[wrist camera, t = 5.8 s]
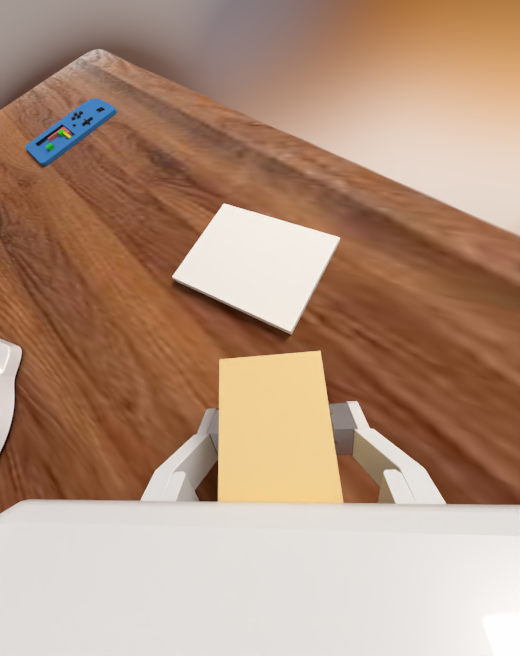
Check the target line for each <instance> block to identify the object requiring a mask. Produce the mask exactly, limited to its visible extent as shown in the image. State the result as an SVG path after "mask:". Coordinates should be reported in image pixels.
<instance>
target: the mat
mask: <svg viewBox="0 0 520 656" xmlns="http://www.w3.org/2000/svg"><path fill="white" fill-rule="evenodd" d="M339 241H340V237H337V236H333V235H330V234H326V233H323V232H320V231H316V230H313V229H309V228H306V227H303V226H299V225H296V224H293V223H289V222H286V221H282V220H279V219H276V218H272V217H269V216H265V215H262V214H259V213H255V212H252V211H248V210H245V209H242V208H238V207H235V206H231V205H228V204H225V203H224V204H223V205H222V207H221V208H220V209H219V211H218V212H217V214H216V215H215V217H214V218H213V219H212V221H211V222H210V224H209V225H208V226H207V228H206V229H205V231H204V232H203V234H202V235H201V236H200V238H199V239H198V241H197V242H196V244H195V245H194V246H193V248H192V249H191V251H190V252H189V253H188V255H187V256H186V258H185V259H184V261H183V262H182V263H181V265H180V266H179V268H178V269H177V270H176V272H175V273H174V275H173V276H172V278H173V279H174V280H175V281H177V282H179V283H181V284H183V285H185V286H187V287H190V288H192V289H194V290H196V291H198V292H200V293H202V294H205V295H207V296H209V297H211V298H213V299H215V300H217V301H220V302H222V303H224V304H226V305H228V306H230V307H232V308H235V309H237V310H239V311H241V312H243V313H245V314H247V315H250V316H252V317H254V318H256V319H258V320H260V321H262V322H265V323H267V324H269V325H271V326H273V327H275V328H277V329H280V330H282V331H284V332H286V333H288V334H290V335H292V333H293V331H294V329H295V327H296V325H297V323H298V321H299V319H300V317H301V315H302V313H303V311H304V309H305V308H306V306H307V304H308V302H309V300H310V298H311V296H312V294H313V292H314V290H315V288H316V286H317V284H318V283H319V281H320V279H321V277H322V275H323V273H324V271H325V269H326V267H327V265H328V263H329V261H330V259H331V257H332V256H333V254H334V252H335V250H336V248H337V246H338V244H339Z"/></svg>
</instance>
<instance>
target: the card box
mask: <svg viewBox="0 0 520 656" xmlns="http://www.w3.org/2000/svg"><path fill="white" fill-rule="evenodd" d="M218 502H303V503H343V497H342V490H341V483H340V477H339V470H338V464H337V457H336V450H335V444H334V437H333V431H332V424H331V417H330V411H329V404H328V398H327V391H326V384H325V378H324V371H323V364H322V358H321V351H312V352H300V353H288V354H277V355H265V356H253V357H241V358H230V359H220V364H219V445H218Z"/></svg>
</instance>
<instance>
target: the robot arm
mask: <svg viewBox="0 0 520 656" xmlns="http://www.w3.org/2000/svg"><path fill="white" fill-rule="evenodd" d="M21 356H22V350H21V348H20V347H19V346H17V345H15V344H13V343H10V342H8V341H5V340H3V339H0V452H1V449H2V447H3V445H4V443H5V440H6V438H7V435H8V432H9V429H10V425H11V421H12V417H13V411H14V401H15V393H14V382H15V376H16V373H17V370H18V367H19V364H20V360H21ZM328 404H329V411H330V417H331V424H332V431H333V437H334V444H335V450H336V455H353V457H354V458H355V459H356V460H357V462H358V463H359V464H360V465H361V466H362V467H363V468H364V469H365V471H366V472H367V473H368V474H369V475H370V476H371V477H372V478H373V480H374V481H375V482H376V483H377V484H378V485H379V486H380V494H379V499H378V503H303V502H211V501H199V499H198V497H197V495H196V493H195V490H196V488H197V487H198V486H199V484H200V483H201V481H202V480H203V479H204V477H205V476H206V475H207V473H208V472H209V471H210V469H211V468H212V467H213V465H214V464H215V463H216V461H217V460H218V445H219V408H213V409H207V410H206V412H205V414H204V417H203V419H202V422H201V425H200V427H199V430H198V432H197V435H193V436H192V437H191V438H190V439H189V440H188V441H187V442H186V443H185V444H184V445H182V446H181V447H180V448H179V449H178V450H177V451H176V452H175V453H174V454H173V455H172V456H171V457H169V458H168V459H167V460H166V461H165V462H164V463H163V464H162V465H161V466H160V467H159V468H158V469H157V470H155V472H154V474H153V476H152V478H151V480H150V482H149V484H148V486H147V488H146V490H145V492H144V494H143V496H142V498H141V500H140V501H125V500H46V499H29V500H24V501H21V502H19V503H17V504H15V505H14V506H12V507H10V508H9V509H7V510H5V511H4V512H2V513H1V514H0V656H520V505H479V504H446V503H445V501H444V499H443V498H442V496H441V494H440V493H439V491H438V490H437V488H436V486H435V485H434V483H433V481H432V480H431V478H430V476H429V475H428V473H427V471H426V470H425V468H423V467H422V466H421V465H420V464H418V463H417V462H416V461H414V460H413V459H412V458H411V457H409V456H408V455H407V454H405V453H404V452H403V451H402V450H400V449H399V448H398V447H396V446H395V445H394V444H393V443H391V442H390V441H389V440H387V439H386V438H385V437H383V436H382V435H381V434H380V433H378V432H377V431H376V430H374V429H370V427H369V425H368V423H367V421H366V419H365V417H364V414H363V412H362V410H361V408H360V406H359V403H358V402H357V401H348V402H331V403H328Z"/></svg>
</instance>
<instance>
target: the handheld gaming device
mask: <svg viewBox="0 0 520 656" xmlns="http://www.w3.org/2000/svg"><path fill="white" fill-rule="evenodd" d="M116 113H117V110H116V109H115V107H113V106H111V105H109V104H108V103H106V102H104V101H102V100H101V99H97V98H96V99H91V100H88V101H86V102H85V103H83V104H82V105H80V106H79V107H78V108H76V109H75V110H74V111H72V112H71V113H70V114H68V115H67V116H66V117H64V118H63V119H61V120H60V121H59V122H57V123H56V124H55V125H53V126H52V127H51V128H49V129H48V130H46V131H45V132H44V133H42V134H41V135H40V136H38V137H37V138H36V139H34V140H33V141H31V142H30V143H29V144H27V145H26V147H25V148H26V150H27V151H28V152H29V153H30V154H31V155H32V156H33V157H34V158H35V159H36V160H37V161H38V162H39V163H40V164H41V165H42V166H47V165H49V164H50V163H52V162H53V161H54V160H56V159H57V158H58V157H59V156H61V155H62V154H63V153H65V152H66V151H67V150H69V149H70V148H71V147H73V146H74V145H75V144H77V143H78V142H79V141H81V140H82V139H83V138H85V137H86V136H87V135H89V134H90V133H91V132H92V131H94V130H95V129H96V128H98V127H99V126H100V125H102V124H103V123H104V122H106V121H107V120H108V119H110V118H111V117H112V116H114V115H115V114H116Z"/></svg>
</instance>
